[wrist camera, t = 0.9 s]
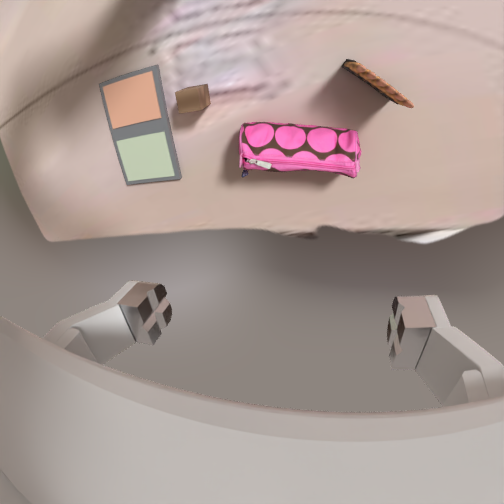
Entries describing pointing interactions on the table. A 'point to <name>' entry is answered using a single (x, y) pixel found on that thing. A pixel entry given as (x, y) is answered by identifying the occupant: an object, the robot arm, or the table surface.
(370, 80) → the ammunition clip
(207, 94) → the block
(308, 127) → the pencil case
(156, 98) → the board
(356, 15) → the table surface
